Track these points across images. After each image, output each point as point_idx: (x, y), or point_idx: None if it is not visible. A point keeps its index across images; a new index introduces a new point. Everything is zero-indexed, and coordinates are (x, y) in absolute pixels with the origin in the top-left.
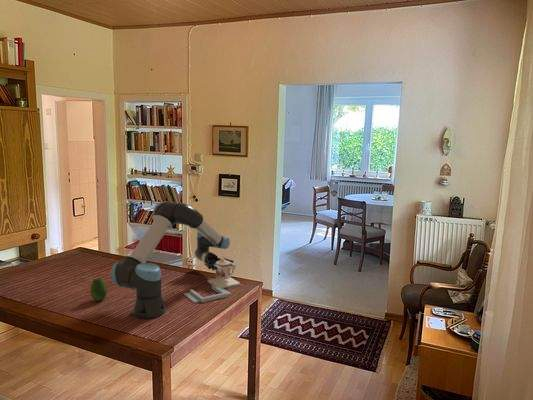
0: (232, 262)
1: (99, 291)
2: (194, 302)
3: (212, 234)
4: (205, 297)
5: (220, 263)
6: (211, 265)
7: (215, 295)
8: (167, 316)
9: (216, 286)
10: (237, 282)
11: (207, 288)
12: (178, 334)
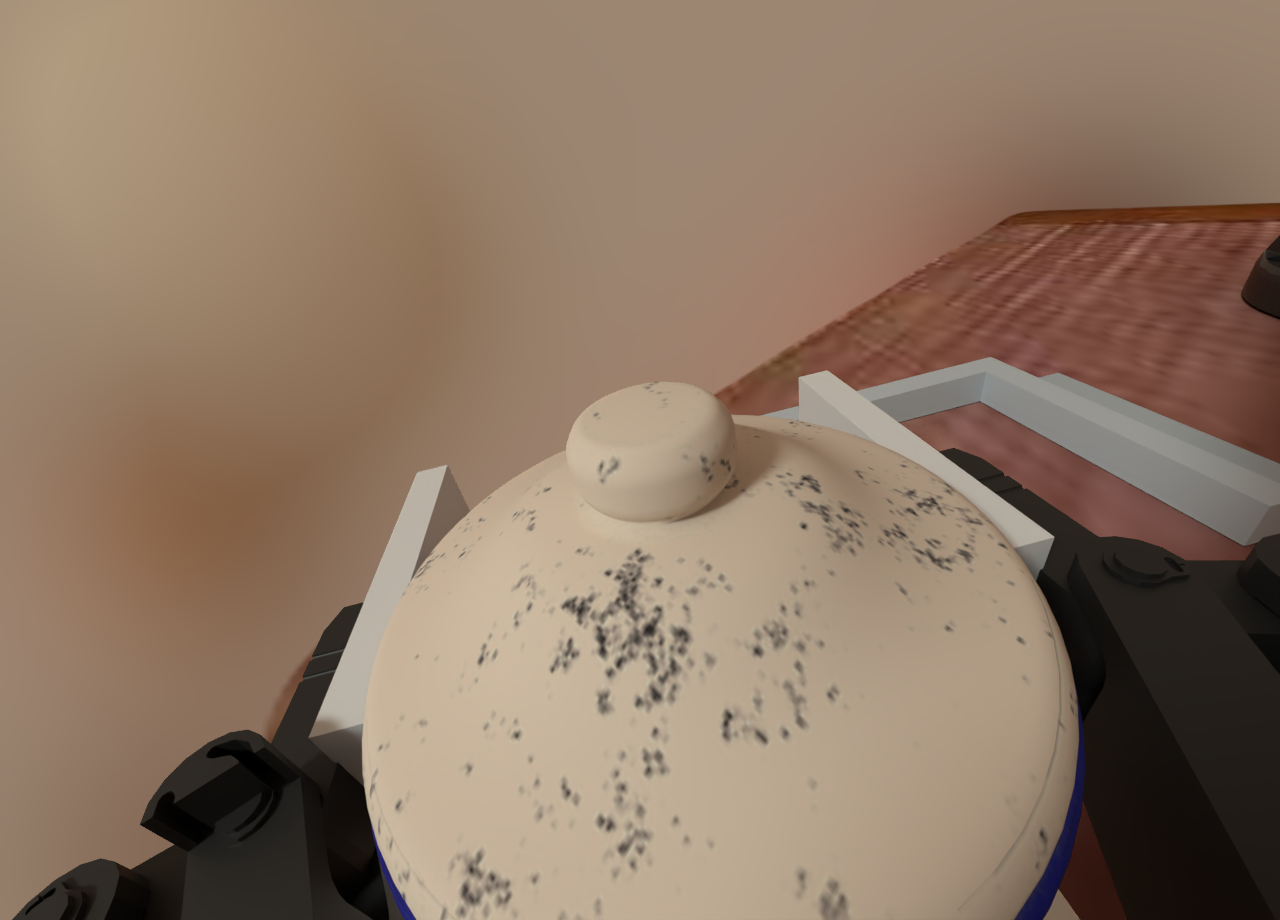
0: (179, 851)
1: None
2: (1055, 377)
3: None
4: (961, 371)
5: (797, 435)
6: (1234, 625)
7: (869, 392)
8: (1179, 290)
9: None
10: None
11: None
12: (1007, 245)
